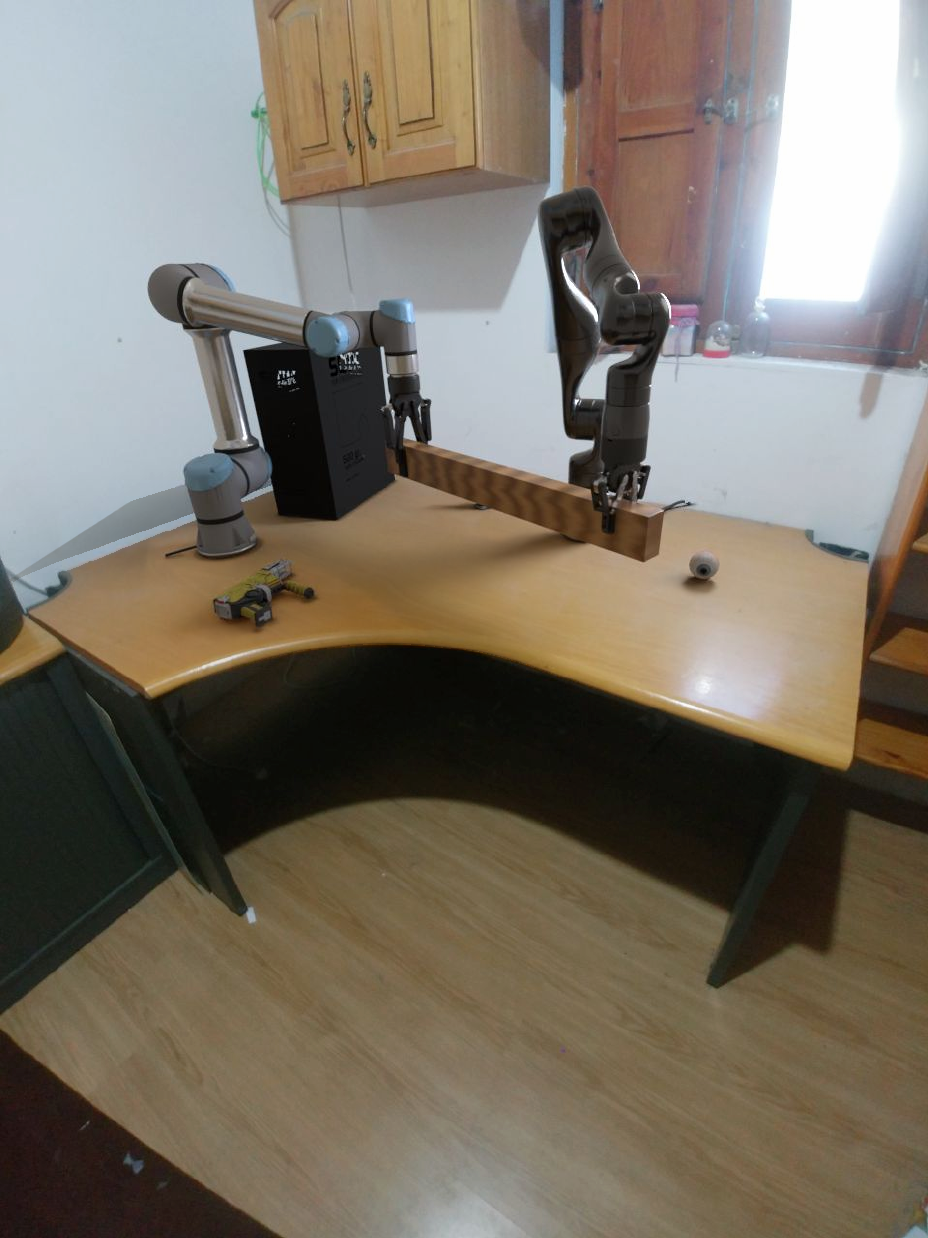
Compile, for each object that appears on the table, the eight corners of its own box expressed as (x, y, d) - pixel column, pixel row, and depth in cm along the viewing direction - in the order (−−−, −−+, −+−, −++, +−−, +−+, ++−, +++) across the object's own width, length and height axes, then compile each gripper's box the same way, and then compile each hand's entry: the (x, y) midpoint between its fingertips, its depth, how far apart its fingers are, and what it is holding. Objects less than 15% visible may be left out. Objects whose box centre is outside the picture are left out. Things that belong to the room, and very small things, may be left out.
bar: (658, 554, 105) (664, 510, 101) (643, 562, 103) (648, 517, 99) (402, 468, 158) (399, 436, 154) (388, 471, 155) (384, 439, 151)
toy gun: (334, 567, 137) (277, 555, 141) (271, 613, 117) (207, 598, 121) (335, 586, 139) (279, 574, 143) (273, 634, 119) (211, 619, 123)
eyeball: (686, 582, 128) (690, 556, 125) (688, 570, 133) (692, 545, 130) (716, 586, 126) (721, 559, 123) (717, 573, 131) (722, 547, 128)
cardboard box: (342, 476, 210) (320, 334, 187) (395, 480, 203) (378, 333, 180) (278, 514, 179) (242, 350, 157) (337, 519, 173) (309, 349, 150)
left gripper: (424, 367, 146) (431, 463, 158) (361, 378, 137) (374, 478, 149) (442, 370, 141) (449, 468, 153) (379, 381, 132) (391, 484, 144)
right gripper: (632, 420, 105) (624, 513, 114) (578, 436, 97) (574, 534, 106) (670, 426, 100) (658, 523, 109) (615, 443, 92) (608, 546, 101)
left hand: (412, 473), depth 151 cm, fingers closed on bar, 4 cm apart
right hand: (616, 528), depth 107 cm, fingers closed on bar, 4 cm apart
